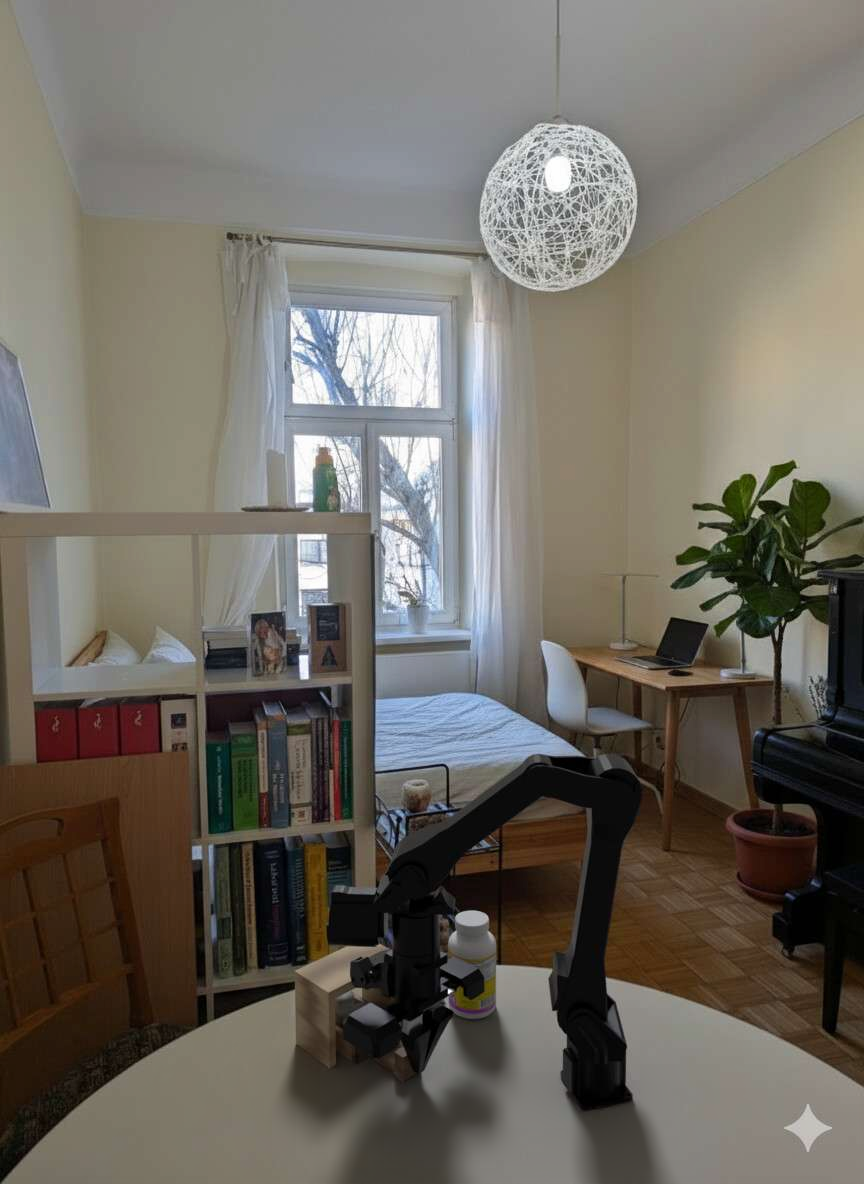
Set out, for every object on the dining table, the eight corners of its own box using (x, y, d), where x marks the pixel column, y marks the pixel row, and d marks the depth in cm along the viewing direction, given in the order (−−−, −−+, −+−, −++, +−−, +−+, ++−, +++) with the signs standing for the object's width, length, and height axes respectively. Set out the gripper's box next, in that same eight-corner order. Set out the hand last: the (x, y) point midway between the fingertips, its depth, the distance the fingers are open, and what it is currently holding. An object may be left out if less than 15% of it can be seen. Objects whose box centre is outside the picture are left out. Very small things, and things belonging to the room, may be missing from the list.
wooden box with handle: (432, 1061, 99) (432, 1026, 99) (390, 1089, 94) (390, 1052, 94) (352, 1010, 110) (351, 978, 110) (311, 1033, 105) (310, 999, 105)
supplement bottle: (451, 991, 115) (451, 905, 114) (497, 995, 114) (497, 907, 113) (445, 1019, 108) (445, 928, 107) (494, 1023, 107) (494, 931, 106)
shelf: (401, 1025, 107) (401, 955, 106) (329, 1068, 98) (328, 992, 98) (367, 1003, 112) (366, 936, 111) (296, 1043, 103) (294, 970, 103)
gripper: (423, 899, 107) (425, 1011, 108) (311, 951, 94) (315, 1078, 95) (486, 926, 100) (488, 1046, 100) (374, 987, 86) (377, 1125, 87)
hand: (418, 1071), depth 96 cm, fingers closed, pressing on wooden box with handle
